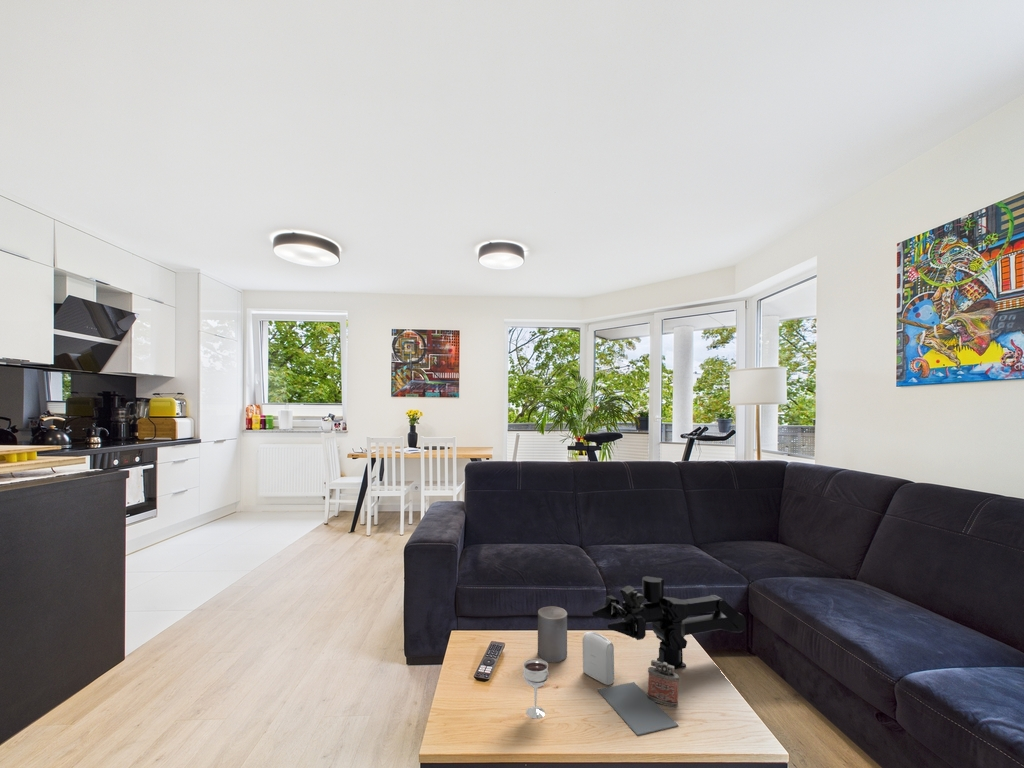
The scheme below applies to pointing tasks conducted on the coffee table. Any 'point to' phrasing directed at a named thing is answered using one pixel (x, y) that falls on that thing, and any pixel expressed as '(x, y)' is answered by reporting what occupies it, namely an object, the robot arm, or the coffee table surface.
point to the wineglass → (535, 682)
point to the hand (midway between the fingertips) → (599, 619)
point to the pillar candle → (552, 634)
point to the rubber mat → (637, 708)
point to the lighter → (663, 684)
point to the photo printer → (598, 657)
